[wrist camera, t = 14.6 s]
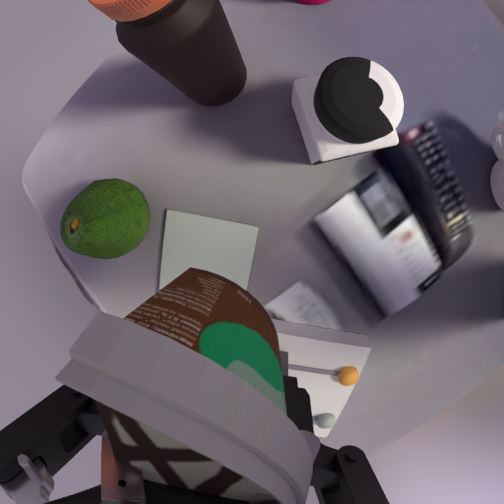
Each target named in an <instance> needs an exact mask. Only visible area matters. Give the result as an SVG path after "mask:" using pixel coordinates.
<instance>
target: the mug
mask: <svg viewBox="0 0 504 504" xmlns="http://www.w3.org/2000/svg"><path fill="white" fill-rule="evenodd" d="M501 134H504V123H500V124H499V125H497V126H496V127H495V128H494V129H493V132H492V135H491V143H492V147H493V150H494V152H495V154H496V156H497V157H498V159H499V160H498V161H497V162H496V163H495V165H494V166H493V168H492V171H491V176H490V185H491V190H492V194H493V197H494V199H495V202H496V203H497V205H498V206H499V207H500V208H501V210H503V211H504V148H503V145H502V142H501V138H500V137H501Z"/></svg>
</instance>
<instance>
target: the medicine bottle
mask: <svg viewBox="0 0 504 504" xmlns="http://www.w3.org/2000/svg"><path fill="white" fill-rule="evenodd" d="M291 104H292V107H293V110H294V112H295V115H296V118H297V121H298V124H299V127H300V130H301V133H302V136H303V139H304V143H305V146H306V149H307V152H308V155H309V159H310V162H311V164H312V165H317V164H321V163H325V162H329V161H333V160H337V159H341V158H346V157H350V156H354V155H358V154H363V153H367V152H372V151H376V150H379V149H383V148H387V147H390V146H394V145H397V144H398V142H399V139H398V136H397V133H396V129H395V128H396V127H397V126H398V124H399V122H400V120H401V118H402V115H403V108H404V104H403V96H402V93H401V90H400V88H399V86H398V84H397V82H396V81H395V79H394V78H393V76H392V75H391V74H390V73H389V72H388V71H387V70H386V69H384V68H383V67H382V66H380V65H379V64H377V63H375V62H373V61H371V60H368V59H365V58H360V57H346V58H341V59H339V60H336V61H334V62H332V63H331V64H330V65H328V66H327V67H326V68H325V70H324V71H323V72H322V74H319V75H314V76H309V77H305V78H301V79H297V80H295V81H294V82H293V91H292V101H291Z"/></svg>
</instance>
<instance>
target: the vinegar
mask: <svg viewBox="0 0 504 504" xmlns="http://www.w3.org/2000/svg"><path fill="white" fill-rule="evenodd" d="M88 1H89V3H91V4H92V5H93V6H95V7H96V8H97V9H99V10H100V11H101V12H103V13H104V14H106V15H107V16H108V17H109V18H111V19H112V20H115V21H116V22H117V25H116V33H117V36H118V40H119V42H120V43H121V44H122V45H123V47H124V48H125V49H126V50H127V51H128V52H130V53H131V54H133V55H134V56H135V57H137V58H138V59H140V60H141V61H142V62H144V63H145V64H147V65H148V66H149V67H151V68H152V69H153V70H155V71H156V72H157V73H159V74H160V75H161V76H163V77H164V78H165V79H167V80H168V81H169V82H171V83H172V84H173V85H174V86H176V87H177V88H178V89H180V90H181V91H182V92H183V93H185V94H186V95H187V96H188V97H190V98H191V99H192V100H194V101H195V102H197V103H199V104H202V105H207V106H215V105H222V104H224V103H227V102H229V101H231V100H232V99H234V98H235V97H236V96H237V95H238V94H239V93H240V92H241V90H242V89H243V88H244V85H245V82H246V79H247V75H246V67H245V65H244V62H243V59H242V57H241V54H240V51H239V49H238V46H237V43H236V41H235V38H234V36H233V33H232V31H231V28H230V26H229V23H228V21H227V18H226V16H225V13H224V11H223V8H222V6H221V3H220V1H219V0H88Z"/></svg>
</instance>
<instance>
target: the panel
mask: <svg viewBox="0 0 504 504" xmlns="http://www.w3.org/2000/svg"><path fill="white" fill-rule="evenodd" d="M271 320H272V322H273V324H274V326H275V329H276V332H277V335H278V341H279V349H280V351H283V352H288V376H292V377H297V382H298V387H299V388H305V389H306V391H307V392H308V394H309V395H310V402H311V404H310V405H311V411H312V419H313V428H314V434H315V435H316V436H317V437H327V436H328V434H329V432H330V431H331V429H332V427H333V426H334V425H335V423H336V420H337V418H338V416H339V415H340V413H341V411H342V409H343V407H344V405H345V403H346V401H347V400H348V398H349V396H350V394H351V392H352V390H353V388H354V386H355V384H356V382H357V381H358V379H359V375H360V373H361V371H362V369H363V367H364V365H365V362H366V360H367V358H368V356H369V353H370V351H371V349H372V347H371V345H370V343H369V341H368V339H367V337H366V335H364V334H357V333H351V332H344V331H338V330H332V329H326V328H320V327H314V326H309V325H303V324H298V323H292V322H287V321H282V320H277V319H272V318H271Z"/></svg>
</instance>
